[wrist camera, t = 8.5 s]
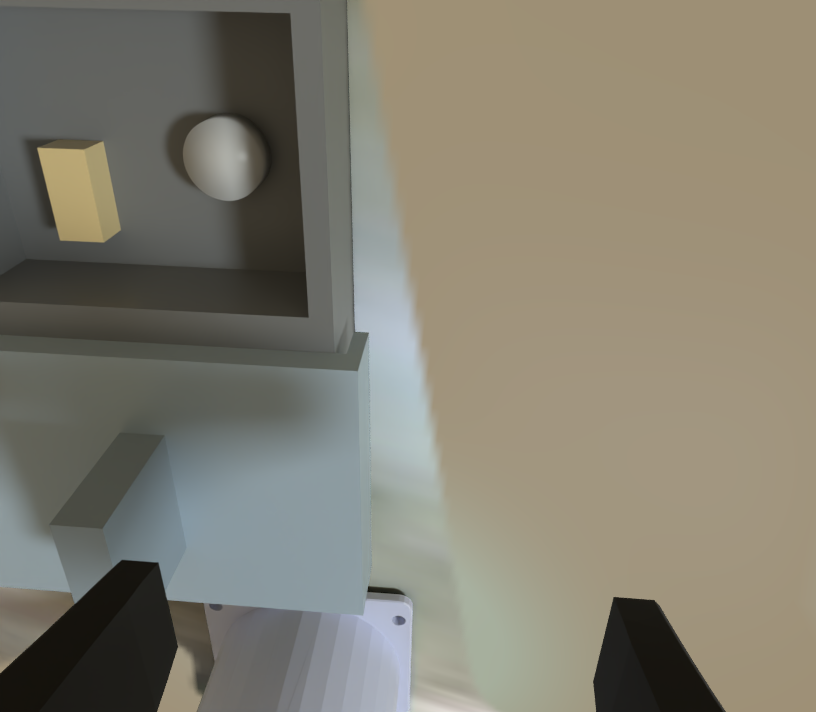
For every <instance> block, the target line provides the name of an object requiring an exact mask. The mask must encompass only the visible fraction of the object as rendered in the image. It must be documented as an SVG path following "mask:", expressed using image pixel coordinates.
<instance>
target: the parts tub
mask: <svg viewBox="0 0 816 712" xmlns="http://www.w3.org/2000/svg"><path fill="white" fill-rule="evenodd" d="M354 332H355V324H354V282H353V239H352V197H351V155H350V113H349V71H348V29H347V0H0V335H13V336H31V337H49V338H67V339H85V340H103V341H121V342H139V343H157V344H175V345H193V346H211V347H229V348H248V349H266V350H284V351H302V352H320V353H338V354H347V351H348V348H349V345H350V342H351V339H352V336H353V333H354Z"/></svg>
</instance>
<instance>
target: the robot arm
mask: <svg viewBox="0 0 816 712" xmlns="http://www.w3.org/2000/svg"><path fill="white" fill-rule="evenodd" d="M203 604H204V609H205V614H206V619H207V625H208V630H209V635H210V640H211V646H212V651H213V656H214V661H215V664H214V667H213V669H212V672H211V675H210V678H209V680H208V683H207V686H206V688H205V691H204V694H203V696H202V699H201V702H200V704H199V707H198V710H197V712H410V680H411V648H412V616H413V604H412V601H411V600H410V598H408V597H406V596H404V595H400V594H387V593H374V592H367V596H366V602H365V608H364V614H363V616H362V615H350V614H337V613H325V612H312V611H299V610H287V609H274V608H261V607H249V606H236V605H223V604H211V603H203ZM399 616H401V617H399ZM177 648H178V645H177V641H176V636H175V632H174V628H173V623H172V619H171V614H170V610H169V606H168V601H167V597H166V593H165V588H164V584H163V580H162V575H161V571H160V567H159V562H146V561H132V560H121V561H120V562H119V563H117V564H116V565H115V566H114V567H113V568H112V569H111V570H110V571H109V572H108V573H107V574H106V575H105V576H104V577H102V578H101V579H100V580H99V581H98V582H97V583H96V584H95V585H94V586H93V587H92V588H91V589H90V590H89V591H88V592H87V593H86V594H85V595H84V596H83V597H82V598H81V599H79V600H78V601H77V602H76V603H75V604H74V605H73V606H72V607H71V608H70V609H69V610H68V611H67V612H66V613H65V614H64V615H63V616H62V617H61V618H60V619H59V620H57V621H56V622H55V623H54V624H53V625H52V626H51V627H50V628H49V629H48V630H47V631H46V632H45V633H44V634H43V635H42V636H41V637H39V638H38V639H37V640H36V641H35V642H34V643H33V644H32V645H31V646H30V647H29V648H27V649H26V650H25V651H24V652H23V653H22V654H21V655H20V656H19V657H18V658H17V659H15V660H14V661H13V662H12V663H11V664H10V665H9V666H8V667H7V668H6V669H5V670H3V671H2V672H1V673H0V712H157V710H158V707H159V704H160V701H161V698H162V695H163V692H164V689H165V686H166V683H167V680H168V677H169V673H170V670H171V667H172V664H173V660H174V658H175V654H176V651H177ZM593 683H594V693H595V703H596V712H726V711H725V710H724V709H723V707H722V705H721V704H720V702H719V701H718V699H717V698H716V697H715V695H714V693H713V692H712V690H711V689H710V688H709V686H708V684H707V683H706V681H705V680H704V678H703V676H702V675H701V673H700V672H699V670H698V668H697V667H696V665H695V664H694V662H693V661H692V659H691V657H690V656H689V654H688V652H687V651H686V649H685V648H684V646H683V644H682V643H681V641H680V639H679V638H678V636H677V634H676V633H675V631H674V629H673V628H672V626H671V625H670V623H669V621H668V619H667V618H666V616H665V614H664V613H663V611H662V609H661V607H660V606H659V605H658V604H657V603H656V602H655V601H654V600H644V599H632V598H619V597H614V598H613V602H612V607H611V611H610V615H609V619H608V623H607V627H606V631H605V636H604V639H603V644H602V648H601V652H600V656H599V660H598V664H597V669H596V673H595V677H594V681H593Z"/></svg>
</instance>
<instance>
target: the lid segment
mask: <svg viewBox="0 0 816 712" xmlns="http://www.w3.org/2000/svg"><path fill="white" fill-rule="evenodd" d="M121 560H132V561H146V562H159V567H160V571H161V575H162V580H163V584H164V588H165V593H166V597H167V600H173V601H186V602H198V603H211V604H223V605H236V606H249V607H261V608H274V609H287V610H299V611H312V612H325V613H337V614H350V615H362V616H363V614H364V608H365V602H366V596H367V590H368V584H369V578H370V572H371V566H372V551H371V468H370V385H369V333H365V332H354V333H353V336H352V339H351V342H350V345H349V348H348V351H347V354H338V353H320V352H302V351H284V350H266V349H248V348H229V347H211V346H193V345H175V344H157V343H139V342H121V341H103V340H85V339H67V338H49V337H31V336H13V335H0V587H9V588H21V589H34V590H47V591H59V592H71V594H72V597H73V600H74V603H76V602H77V601H78V600H79V599H81V598H82V597H83V596H84V595H85V594H86V593H87V592H88V591H89V590H90V589H91V588H92V587H93V586H94V585H95V584H96V583H97V582H98V581H99V580H100V579H101V578H102V577H104V576H105V575H106V574H107V573H108V572H109V571H110V570H111V569H112V568H113V567H114V566H115V565H116V564H117V563H119V562H120V561H121Z"/></svg>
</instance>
